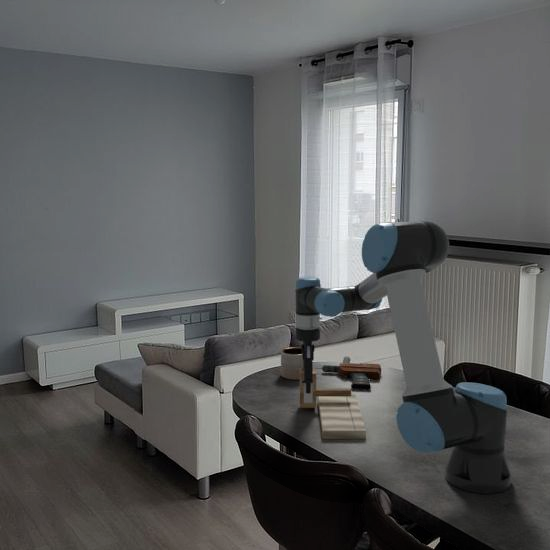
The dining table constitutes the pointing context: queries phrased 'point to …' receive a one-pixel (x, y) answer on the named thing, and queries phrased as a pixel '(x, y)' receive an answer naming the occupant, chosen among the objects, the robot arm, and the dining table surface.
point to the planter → (291, 363)
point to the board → (341, 417)
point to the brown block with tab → (319, 391)
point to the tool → (356, 372)
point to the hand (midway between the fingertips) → (307, 398)
